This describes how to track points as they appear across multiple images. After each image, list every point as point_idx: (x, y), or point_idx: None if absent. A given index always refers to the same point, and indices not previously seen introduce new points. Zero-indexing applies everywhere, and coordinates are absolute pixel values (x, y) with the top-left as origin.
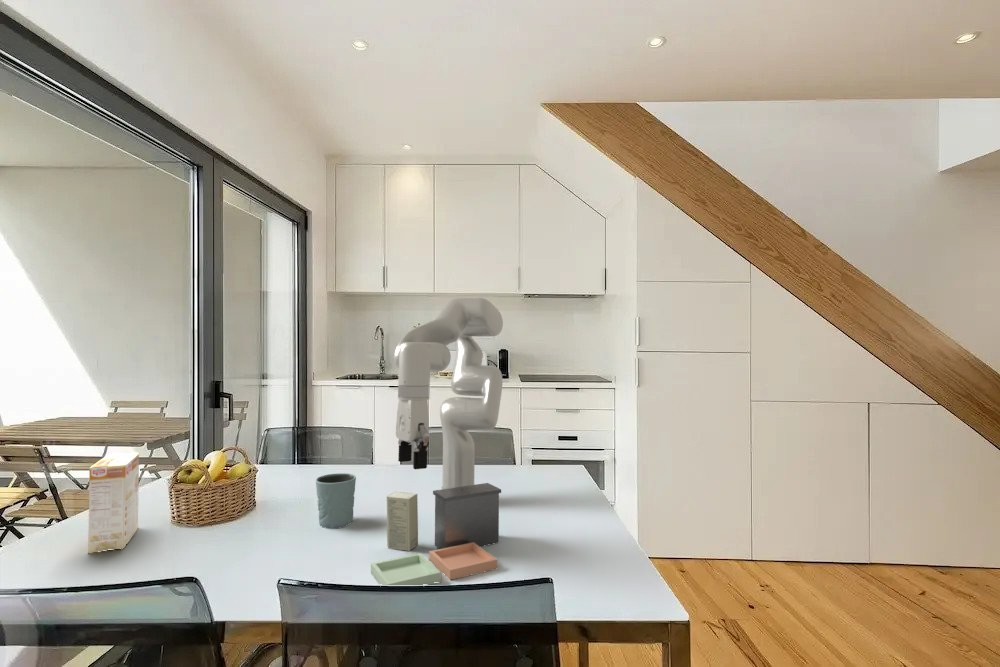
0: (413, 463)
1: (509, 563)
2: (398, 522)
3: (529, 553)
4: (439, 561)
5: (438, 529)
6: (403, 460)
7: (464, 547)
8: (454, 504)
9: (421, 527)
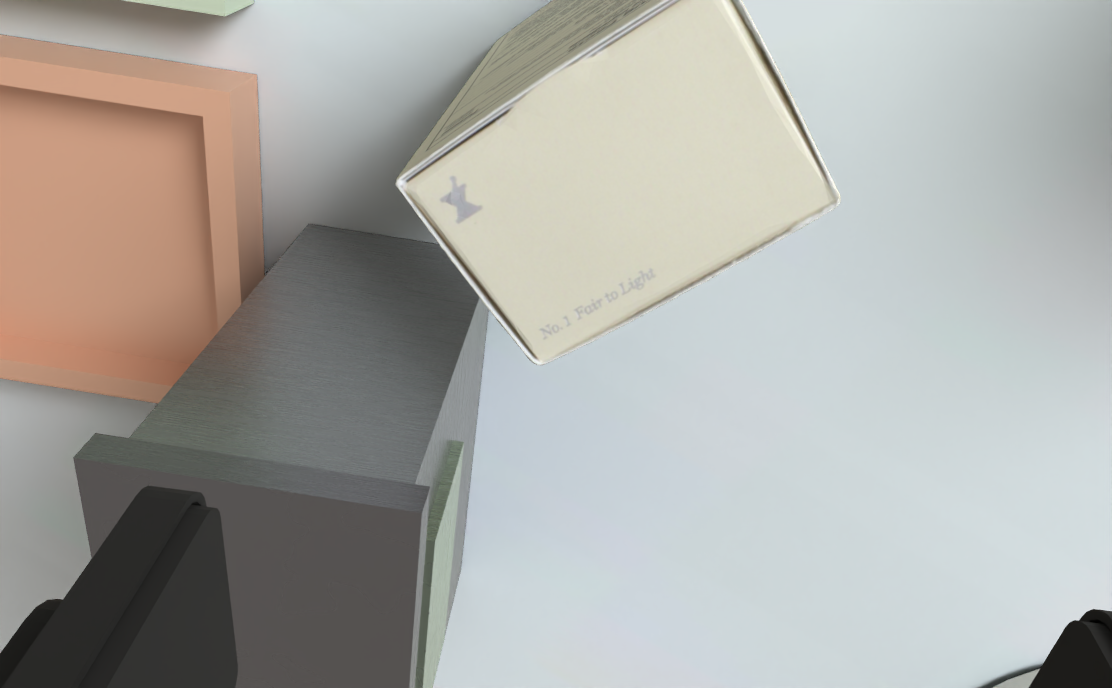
0: (131, 567)
1: (15, 425)
2: (558, 21)
3: None
4: (31, 59)
5: (395, 306)
6: (1050, 683)
7: None
8: None
9: (879, 362)
